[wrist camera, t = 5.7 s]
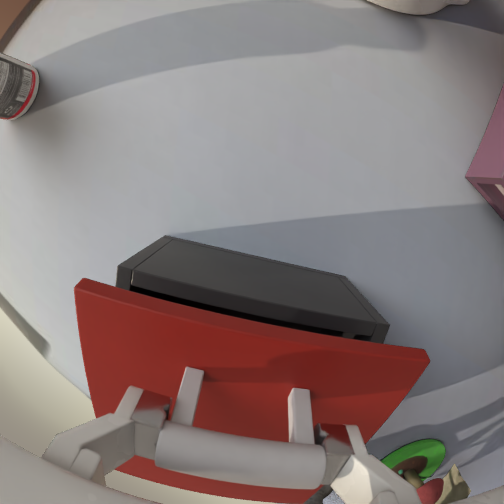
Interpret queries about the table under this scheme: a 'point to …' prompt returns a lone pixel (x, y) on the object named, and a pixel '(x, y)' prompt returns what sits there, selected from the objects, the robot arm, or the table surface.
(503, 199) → the book
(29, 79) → the pill bottle
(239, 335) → the lid
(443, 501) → the mushroom figurine
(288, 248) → the table surface
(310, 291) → the grey open box
